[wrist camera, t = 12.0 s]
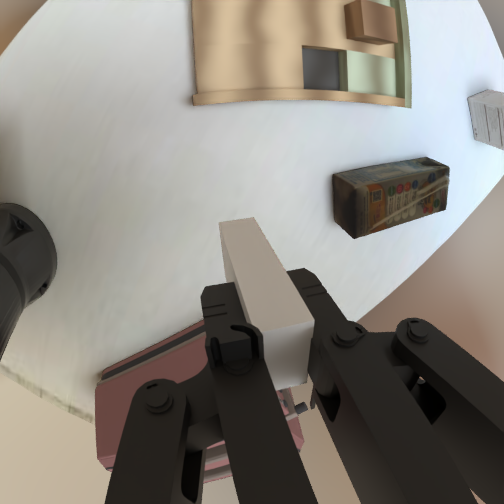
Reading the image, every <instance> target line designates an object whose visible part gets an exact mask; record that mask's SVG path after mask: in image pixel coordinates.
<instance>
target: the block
mask: <svg viewBox="0 0 504 504" xmlns="http://www.w3.org/2000/svg"><path fill="white" fill-rule="evenodd" d="M344 13H345V24H346V37H347V39H349V40H355V41H360V42H365V43H370V44H375V45H385V44H393V43H398V39H397V27H396V17H395V9H394V8H392V7H389V6H386V5H383V4H379V3H376V2H372V1H369V0H355V1H353V2H351V3H348V4H346V5H344Z"/></svg>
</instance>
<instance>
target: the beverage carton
mask: <svg viewBox="0 0 504 504" xmlns="http://www.w3.org/2000/svg"><path fill="white" fill-rule="evenodd" d="M449 171H450V168H449V167H448V166H446V165H444V164H442V163H440V162H437V161H435V160H433V159H430V158H428V157H425V158H418V159H413V160H406V161H400V162H394V163H389V164H382V165H377V166H372V167H366V168H361V169H356V170H352V171H347V172H342V173H339V174H333V186H334V212H335V222H336V223H337V224H338V225H339V226H340V227H341V228H342V229H343V230H345V231H346V233H348V234H349V235H350V236H351V237H352V238H353V239H356V238H358V237H362V236H366V235H369V234H372V233H375V232H378V231H381V230H384V229H388V228H391V227H393V226H396V225H399V224H403V223H406V222H409V221H412V220H415V219H418V218H421V217H424V216H427V215H430V214H433V213H435V212H440V211H444V210H445V209H446V205H447V194H448V185H449Z"/></svg>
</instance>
